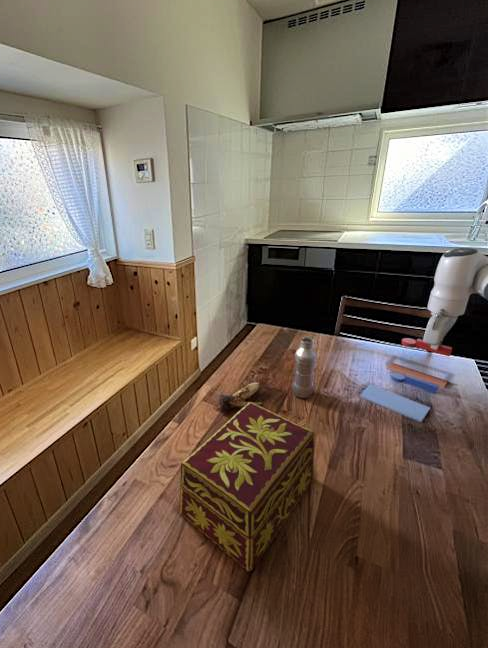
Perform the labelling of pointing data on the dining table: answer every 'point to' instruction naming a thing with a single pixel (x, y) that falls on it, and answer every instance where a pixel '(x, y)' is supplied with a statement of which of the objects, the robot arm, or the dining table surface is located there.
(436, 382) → the terracotta mat
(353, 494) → the dining table surface
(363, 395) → the blue mat
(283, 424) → the decorative box
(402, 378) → the blue spoon
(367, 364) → the dining table surface
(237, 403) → the worn brush
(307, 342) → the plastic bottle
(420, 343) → the red spoon
